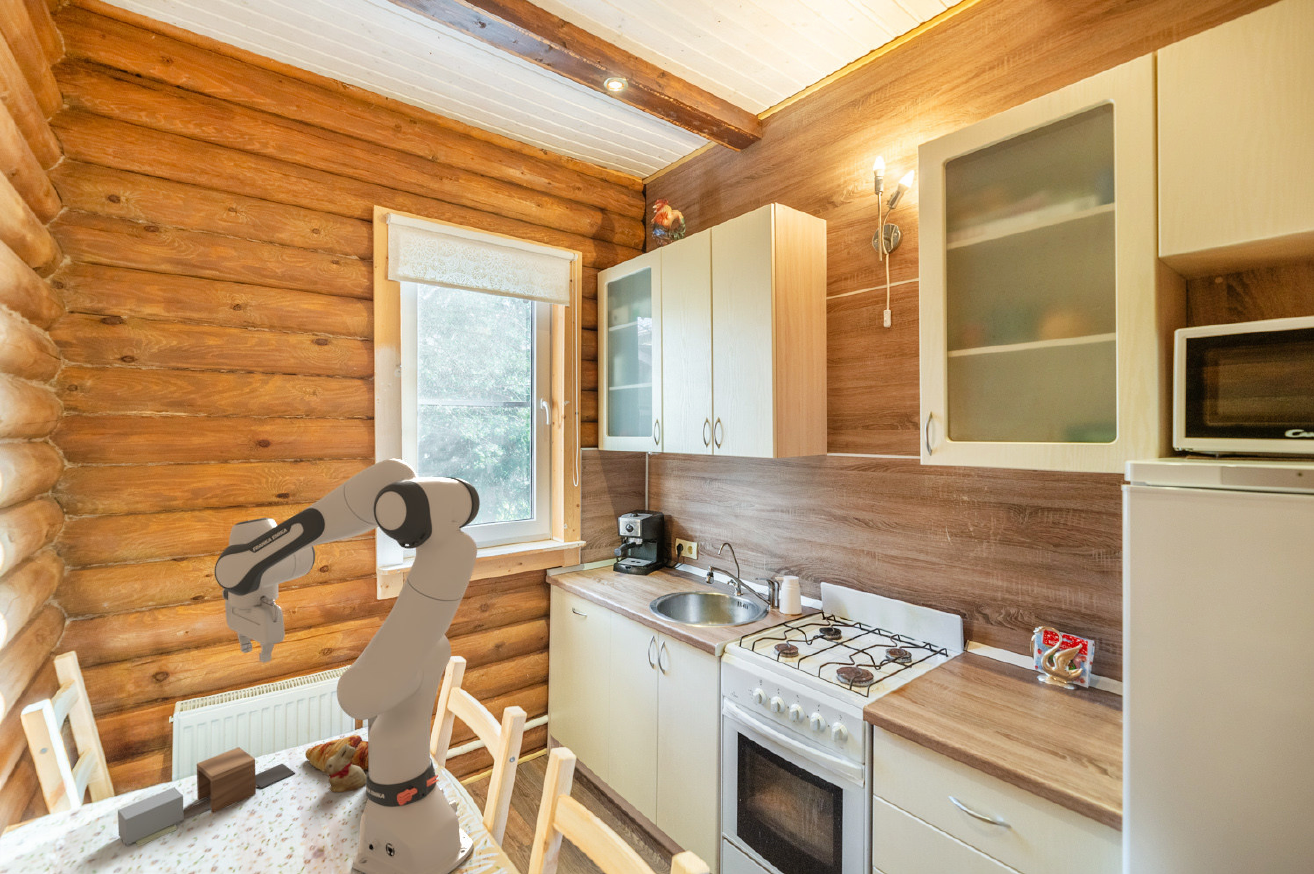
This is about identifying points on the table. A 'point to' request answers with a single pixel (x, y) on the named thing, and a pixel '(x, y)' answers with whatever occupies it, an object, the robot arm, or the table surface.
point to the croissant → (331, 748)
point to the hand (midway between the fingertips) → (255, 656)
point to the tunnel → (225, 784)
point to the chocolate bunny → (344, 771)
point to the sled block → (150, 815)
